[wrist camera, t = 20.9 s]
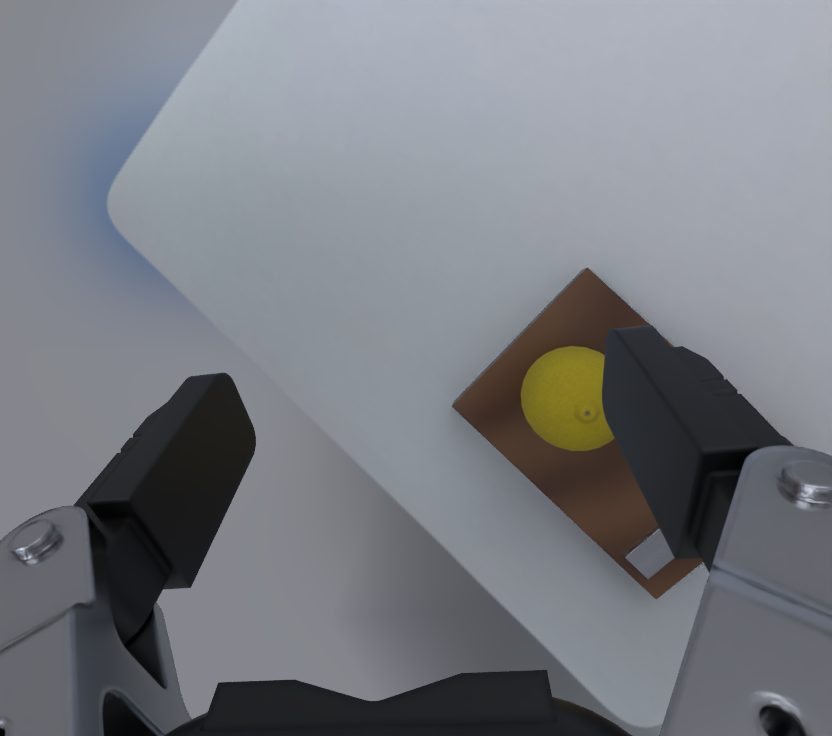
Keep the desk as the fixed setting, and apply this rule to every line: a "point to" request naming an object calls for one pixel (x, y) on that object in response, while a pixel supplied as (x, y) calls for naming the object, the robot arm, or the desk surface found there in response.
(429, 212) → the desk surface
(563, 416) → the lemon
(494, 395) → the cutting board
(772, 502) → the robot arm
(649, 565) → the knife
